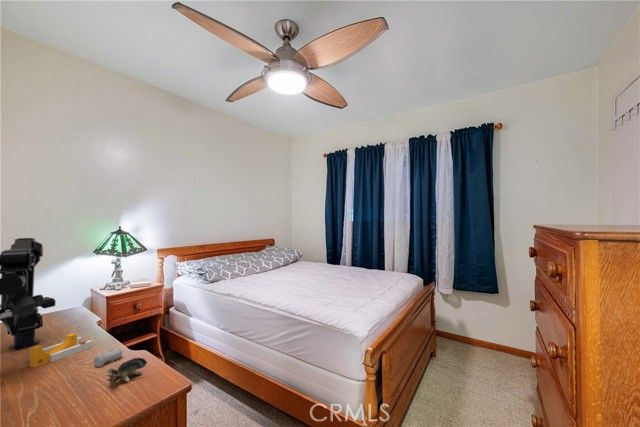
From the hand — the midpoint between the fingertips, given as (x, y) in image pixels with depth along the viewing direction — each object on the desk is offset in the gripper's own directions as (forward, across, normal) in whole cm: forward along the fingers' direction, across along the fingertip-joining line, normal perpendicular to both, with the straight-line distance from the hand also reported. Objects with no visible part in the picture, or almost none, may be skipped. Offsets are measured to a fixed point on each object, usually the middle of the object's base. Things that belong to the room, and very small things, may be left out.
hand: (13, 335), depth 86 cm
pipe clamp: (+12, +10, -1) cm, 16 cm away
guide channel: (+12, +14, 0) cm, 18 cm away
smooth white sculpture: (+12, +16, -22) cm, 30 cm away
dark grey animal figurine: (+12, +12, -40) cm, 43 cm away
